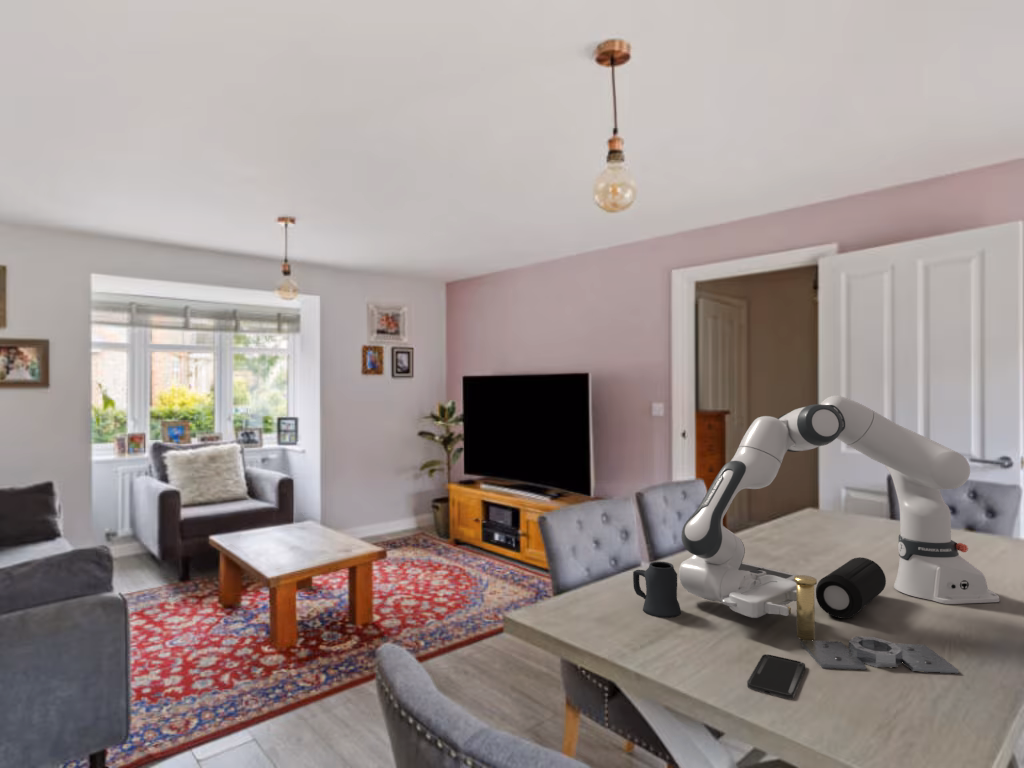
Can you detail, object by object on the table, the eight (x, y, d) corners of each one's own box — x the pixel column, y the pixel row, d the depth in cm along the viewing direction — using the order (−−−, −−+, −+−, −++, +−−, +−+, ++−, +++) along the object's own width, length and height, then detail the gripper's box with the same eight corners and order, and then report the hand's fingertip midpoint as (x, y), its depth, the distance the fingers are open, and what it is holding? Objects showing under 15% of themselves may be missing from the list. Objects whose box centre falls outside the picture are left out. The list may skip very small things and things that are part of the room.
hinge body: (924, 648, 124) (924, 636, 124) (958, 673, 113) (958, 660, 113) (800, 643, 127) (800, 632, 127) (821, 667, 116) (821, 655, 116)
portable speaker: (846, 589, 161) (846, 552, 161) (889, 598, 154) (888, 559, 154) (812, 615, 143) (811, 573, 143) (858, 626, 136) (858, 582, 136)
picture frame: (704, 577, 174) (774, 596, 158) (703, 567, 174) (773, 585, 158) (732, 566, 184) (801, 583, 168) (732, 557, 184) (801, 572, 168)
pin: (812, 633, 132) (811, 575, 132) (820, 642, 128) (819, 581, 128) (791, 633, 132) (791, 574, 133) (798, 641, 128) (798, 581, 128)
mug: (687, 610, 147) (687, 564, 147) (669, 621, 140) (669, 572, 140) (644, 598, 155) (643, 555, 155) (625, 608, 148) (624, 562, 148)
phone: (806, 663, 116) (792, 695, 104) (806, 668, 116) (792, 702, 104) (763, 653, 121) (745, 683, 108) (763, 658, 121) (745, 689, 108)
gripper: (716, 586, 135) (775, 602, 125) (763, 568, 148) (821, 582, 137) (716, 614, 135) (776, 633, 125) (764, 594, 148) (821, 609, 137)
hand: (800, 606), depth 131 cm, fingers open, 8 cm apart
